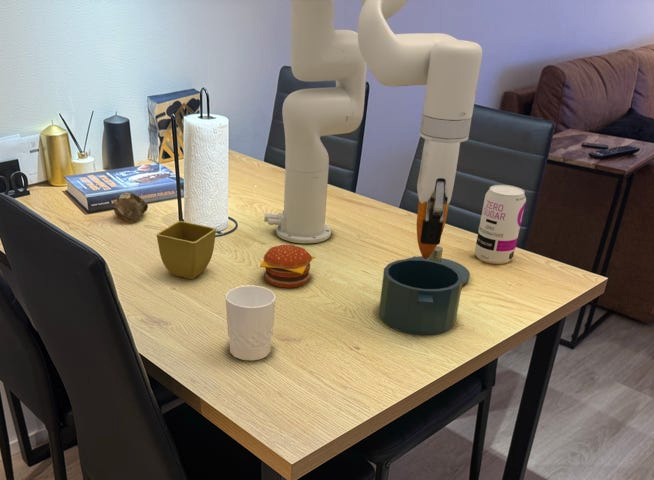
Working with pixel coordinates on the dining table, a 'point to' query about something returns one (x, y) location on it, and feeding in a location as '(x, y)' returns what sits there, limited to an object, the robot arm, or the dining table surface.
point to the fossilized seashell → (129, 207)
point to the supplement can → (500, 224)
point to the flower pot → (186, 248)
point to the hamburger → (287, 266)
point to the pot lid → (448, 263)
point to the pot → (420, 296)
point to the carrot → (424, 248)
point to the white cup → (250, 321)
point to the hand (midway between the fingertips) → (428, 236)
